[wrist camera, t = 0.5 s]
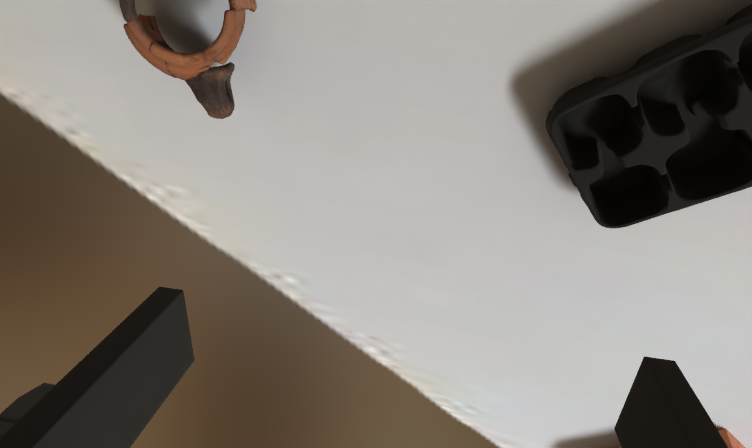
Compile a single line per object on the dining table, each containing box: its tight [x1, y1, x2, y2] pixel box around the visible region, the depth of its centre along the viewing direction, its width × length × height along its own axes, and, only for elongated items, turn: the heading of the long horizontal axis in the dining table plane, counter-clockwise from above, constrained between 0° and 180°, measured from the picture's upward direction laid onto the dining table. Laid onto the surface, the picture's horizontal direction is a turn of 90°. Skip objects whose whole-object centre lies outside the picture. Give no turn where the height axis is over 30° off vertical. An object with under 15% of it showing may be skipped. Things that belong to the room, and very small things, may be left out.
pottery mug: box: [119, 0, 257, 119], centre depth 34 cm, size 12×10×8 cm
